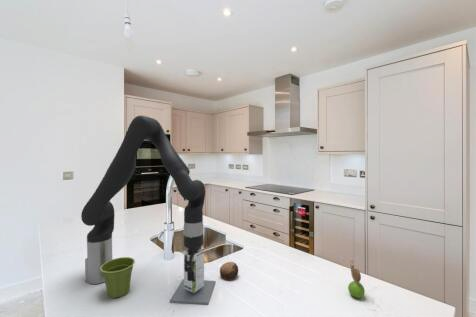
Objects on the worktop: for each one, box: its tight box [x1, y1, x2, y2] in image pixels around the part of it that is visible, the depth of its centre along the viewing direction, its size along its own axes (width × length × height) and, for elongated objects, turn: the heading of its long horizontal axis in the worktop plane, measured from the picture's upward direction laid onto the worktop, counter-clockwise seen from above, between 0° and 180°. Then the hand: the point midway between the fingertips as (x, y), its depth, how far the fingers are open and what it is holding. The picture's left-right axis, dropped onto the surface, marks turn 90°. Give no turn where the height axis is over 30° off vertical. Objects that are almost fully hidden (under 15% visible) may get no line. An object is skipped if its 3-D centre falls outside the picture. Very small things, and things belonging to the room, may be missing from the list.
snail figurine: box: [347, 260, 365, 299], centre depth 86 cm, size 5×6×12 cm
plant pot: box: [100, 256, 136, 299], centre depth 88 cm, size 12×12×11 cm
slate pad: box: [169, 278, 217, 306], centre depth 89 cm, size 14×14×1 cm
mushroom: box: [219, 261, 239, 281], centre depth 100 cm, size 8×8×6 cm
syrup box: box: [183, 248, 205, 293], centre depth 89 cm, size 6×6×14 cm
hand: (193, 274), depth 89 cm, fingers closed on syrup box, 7 cm apart
